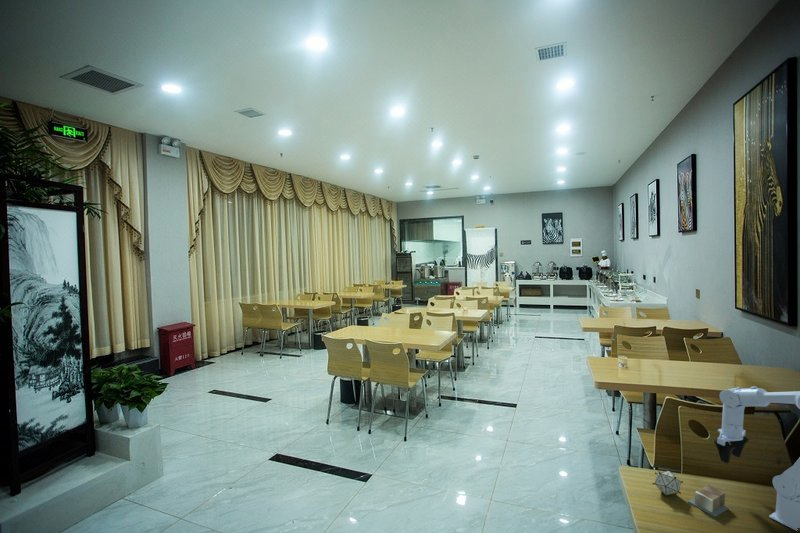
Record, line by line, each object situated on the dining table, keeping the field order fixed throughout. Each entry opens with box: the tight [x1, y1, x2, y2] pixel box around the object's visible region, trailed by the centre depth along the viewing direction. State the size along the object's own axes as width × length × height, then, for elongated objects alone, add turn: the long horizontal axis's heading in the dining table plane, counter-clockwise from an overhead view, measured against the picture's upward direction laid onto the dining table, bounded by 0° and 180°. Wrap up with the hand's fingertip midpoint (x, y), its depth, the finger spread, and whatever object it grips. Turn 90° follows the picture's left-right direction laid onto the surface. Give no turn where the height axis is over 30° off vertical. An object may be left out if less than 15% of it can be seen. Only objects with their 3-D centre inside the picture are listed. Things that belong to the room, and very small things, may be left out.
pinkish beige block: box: [694, 484, 726, 512], centre depth 134 cm, size 5×4×8 cm
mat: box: [688, 497, 729, 518], centre depth 134 cm, size 8×8×1 cm
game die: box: [651, 467, 684, 499], centre depth 140 cm, size 9×8×10 cm
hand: (730, 458), depth 143 cm, fingers open, 7 cm apart
